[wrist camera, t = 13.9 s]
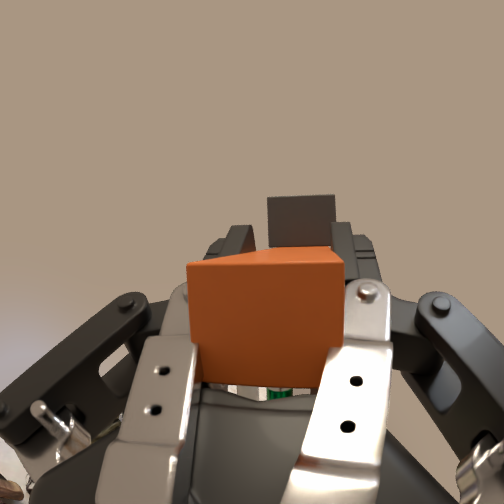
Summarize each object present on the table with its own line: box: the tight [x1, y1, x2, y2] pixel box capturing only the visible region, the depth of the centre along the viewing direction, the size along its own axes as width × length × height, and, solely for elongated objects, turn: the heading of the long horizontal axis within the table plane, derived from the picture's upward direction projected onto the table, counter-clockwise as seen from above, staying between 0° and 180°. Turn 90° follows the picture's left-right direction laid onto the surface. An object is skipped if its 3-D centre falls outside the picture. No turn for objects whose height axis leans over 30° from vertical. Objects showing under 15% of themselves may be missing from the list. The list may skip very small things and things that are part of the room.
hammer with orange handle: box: [186, 194, 345, 389], centre depth 15 cm, size 18×4×6 cm, turn 168°
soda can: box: [267, 387, 293, 400], centre depth 58 cm, size 5×5×12 cm
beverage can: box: [237, 385, 259, 401], centre depth 67 cm, size 5×5×12 cm
